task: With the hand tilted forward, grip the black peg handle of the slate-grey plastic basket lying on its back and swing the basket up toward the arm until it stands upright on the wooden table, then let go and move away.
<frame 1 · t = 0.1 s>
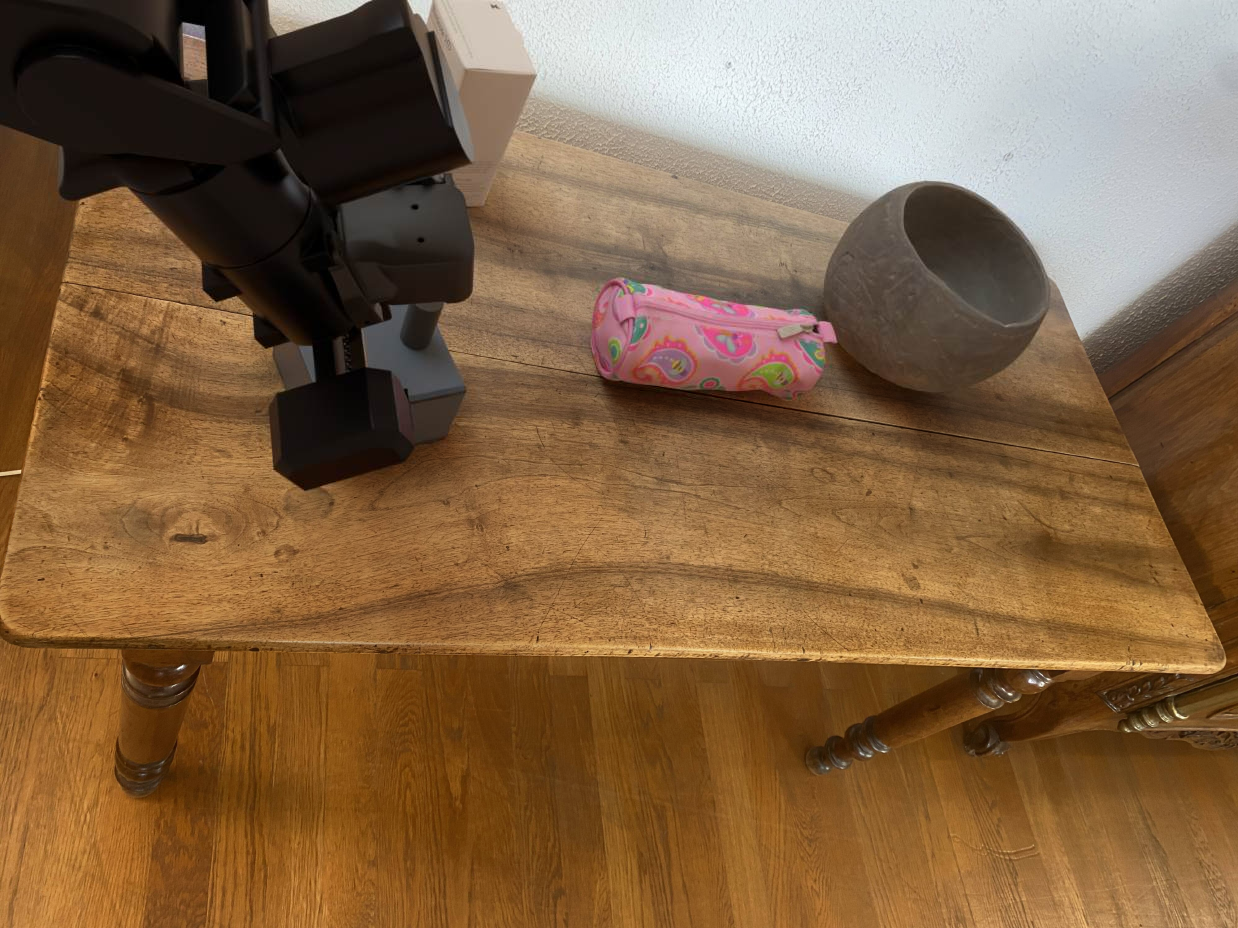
hand: (393, 382, 52), 14 cm above the table, tool tilted 35°, fingers open, 9 cm apart
cosmetic box: (440, 178, 81), on the table
basket: (372, 354, 62), point 6 cm above the table, hinge at 90.0°
bowl: (877, 341, 94), on the table
pencil case: (689, 370, 81), on the table
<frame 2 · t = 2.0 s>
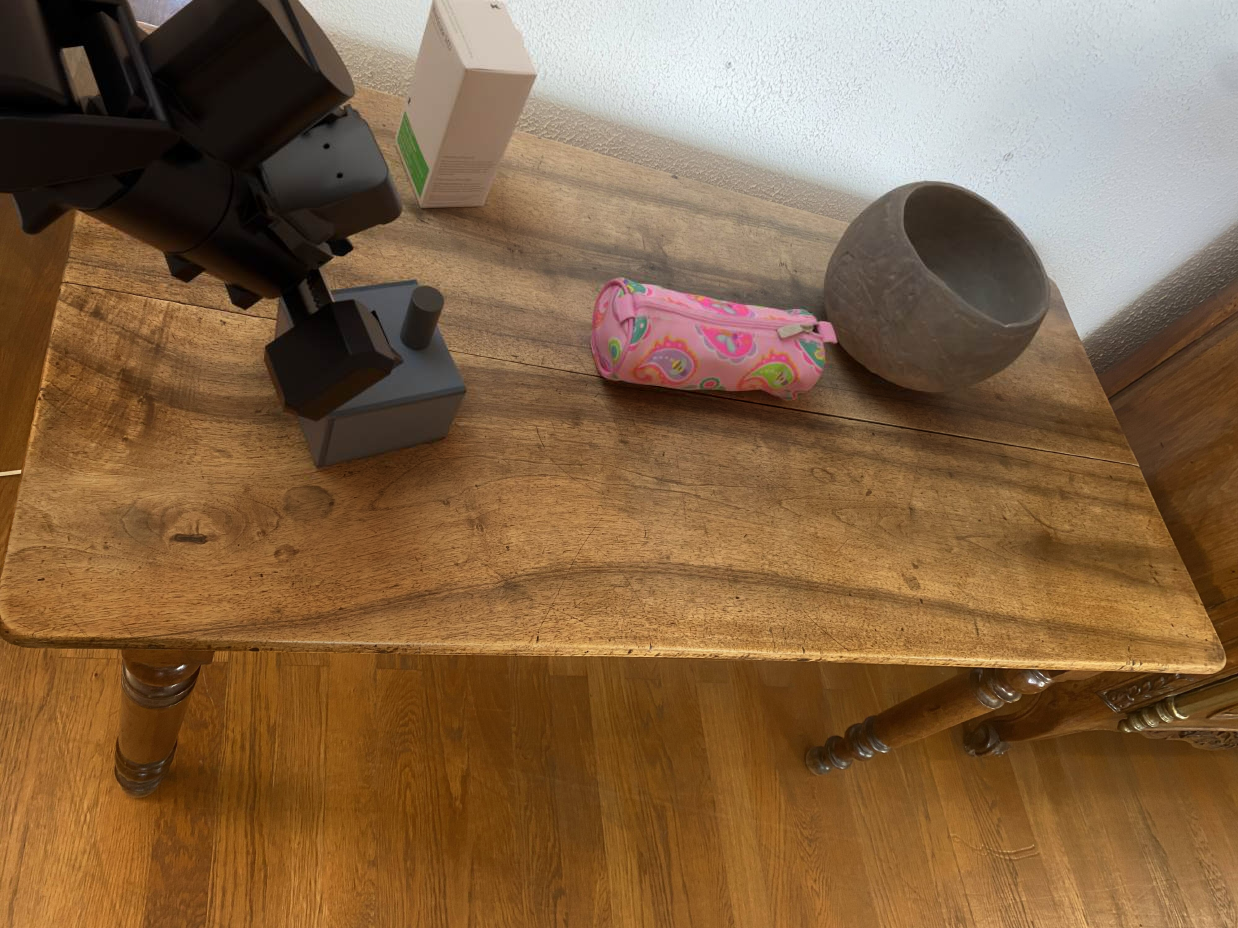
hand: (371, 306, 57), 12 cm above the table, tool tilted 45°, fingers open, 9 cm apart
nothing on the table moved.
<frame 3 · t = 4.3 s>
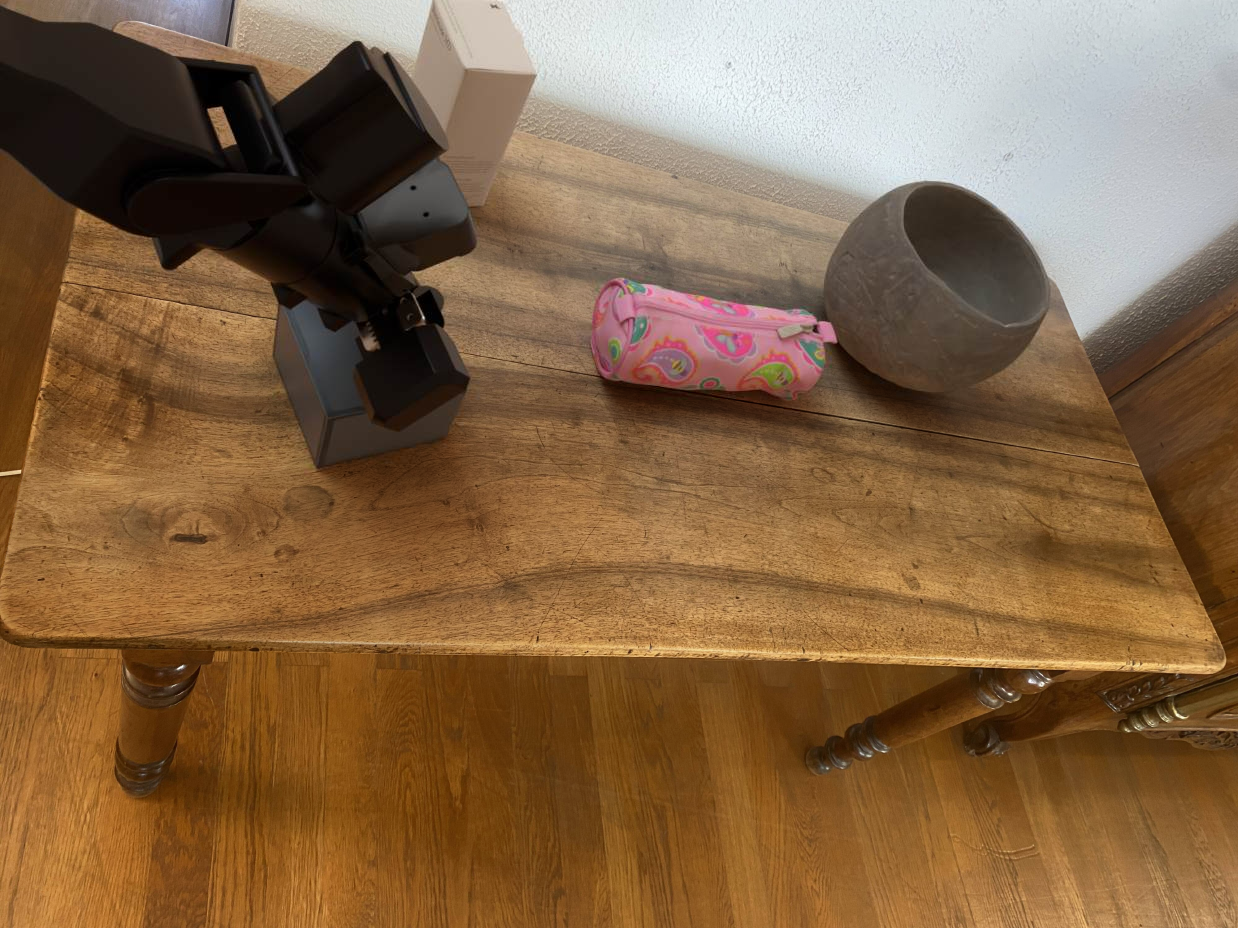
hand: (436, 326, 62), 8 cm above the table, tool tilted 45°, fingers closed on basket, 2 cm apart
basket: (372, 354, 62), point 6 cm above the table, hinge at 90.0°, touching gripper
everything else where it was.
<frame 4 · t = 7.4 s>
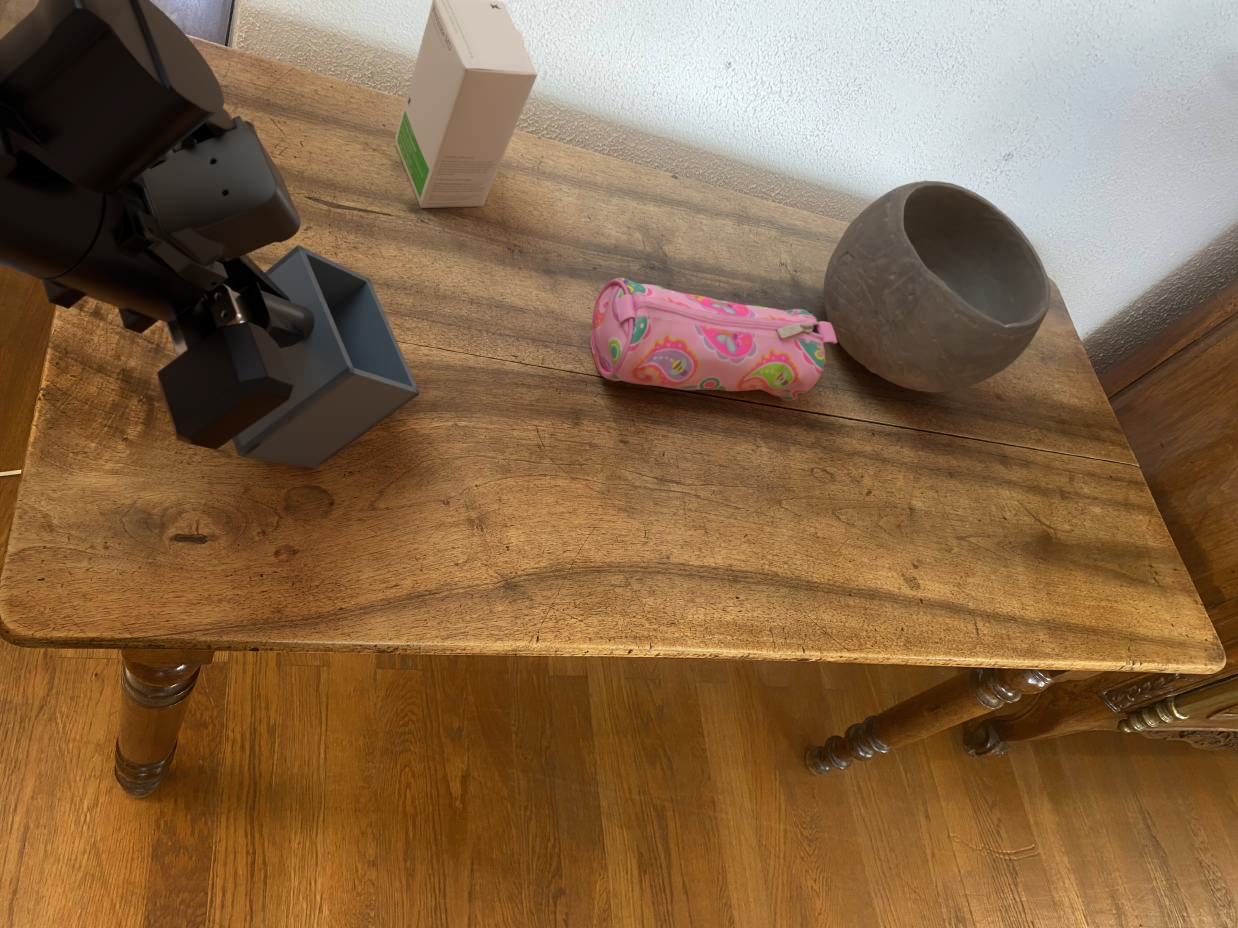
hand: (292, 323, 55), 11 cm above the table, tool tilted 45°, fingers closed on basket, 2 cm apart
basket: (282, 355, 57), point 8 cm above the table, hinge at 38.9°, touching gripper
everything else where it was.
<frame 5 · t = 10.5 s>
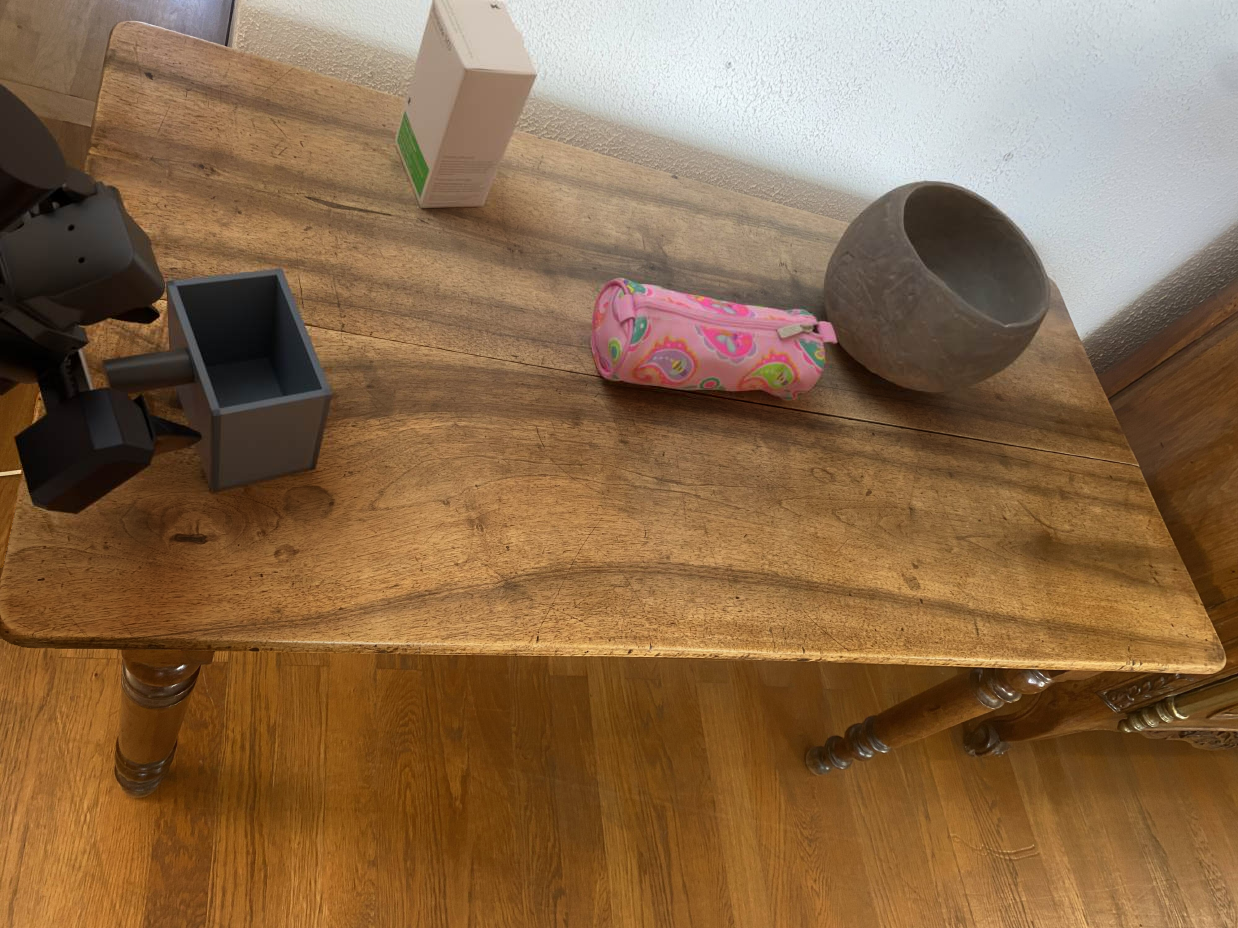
hand: (174, 377, 54), 7 cm above the table, tool tilted 45°, fingers open, 9 cm apart
basket: (210, 388, 57), point 5 cm above the table, hinge at 0.0°
everything else where it was.
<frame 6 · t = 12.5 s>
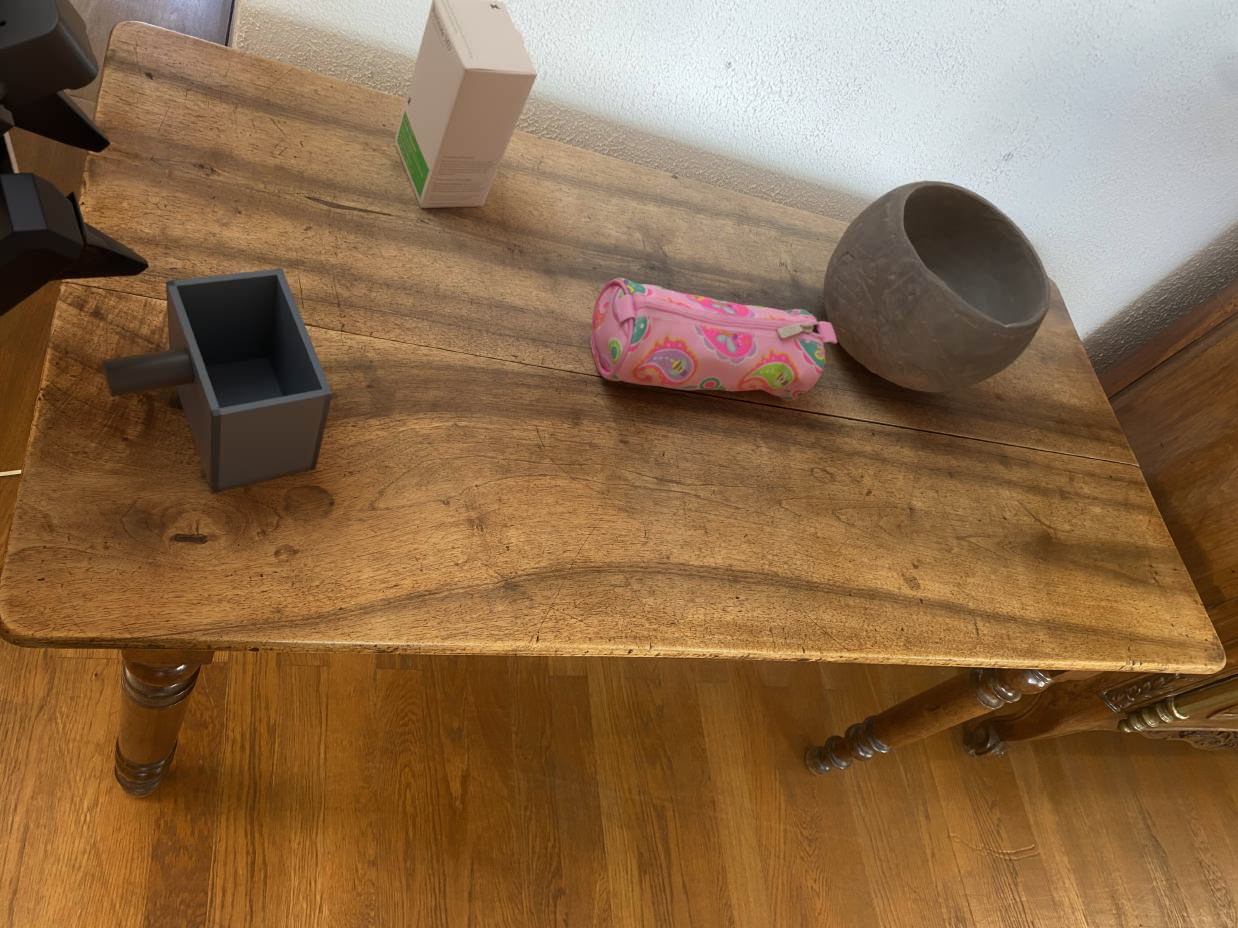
hand: (123, 206, 51), 14 cm above the table, tool tilted 45°, fingers open, 9 cm apart
nothing on the table moved.
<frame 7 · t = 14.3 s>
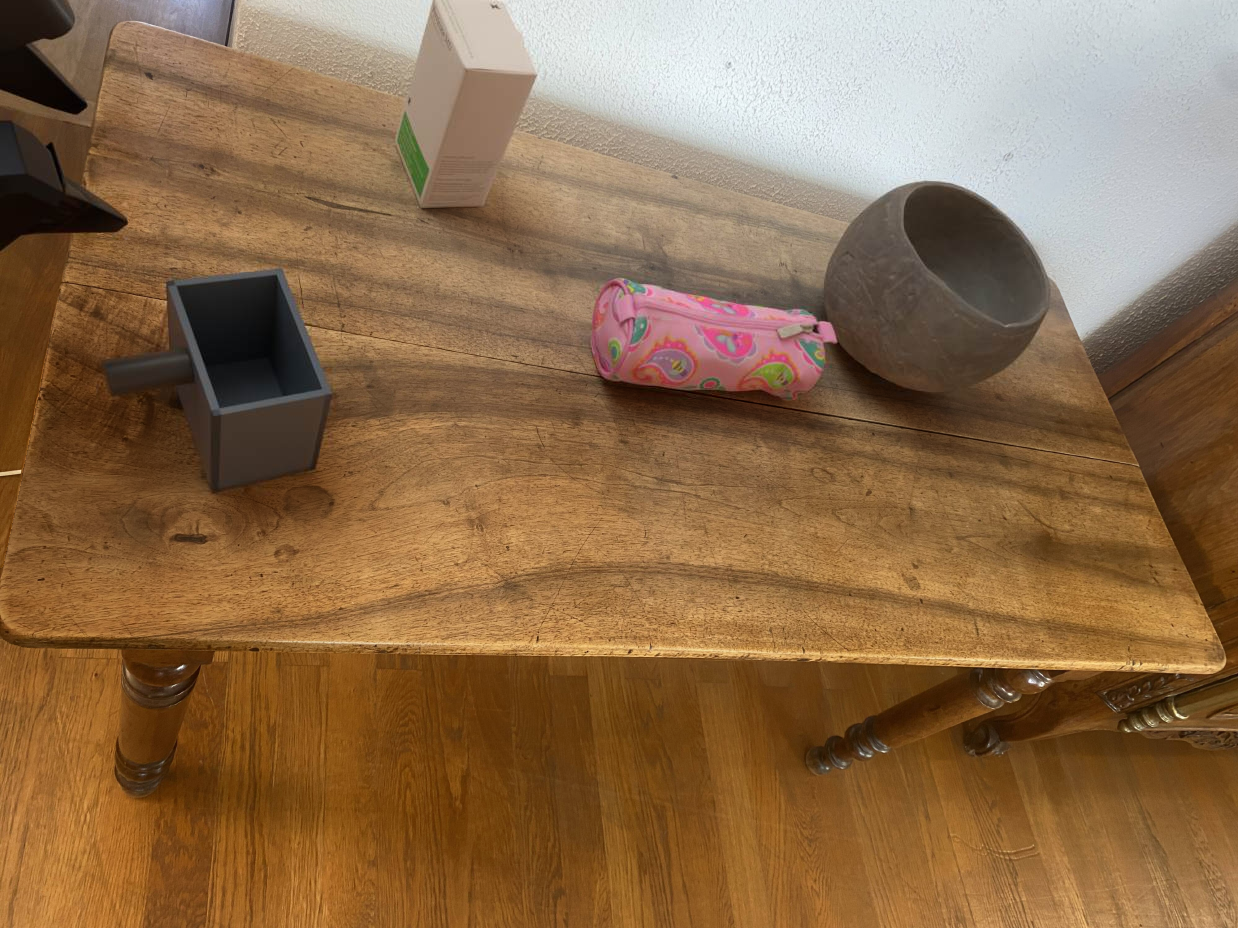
hand: (101, 165, 52), 14 cm above the table, tool tilted 45°, fingers open, 9 cm apart
nothing on the table moved.
at the end: basket at +0° (first picture: +90°); the gripper is holding nothing; basket touching table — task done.
